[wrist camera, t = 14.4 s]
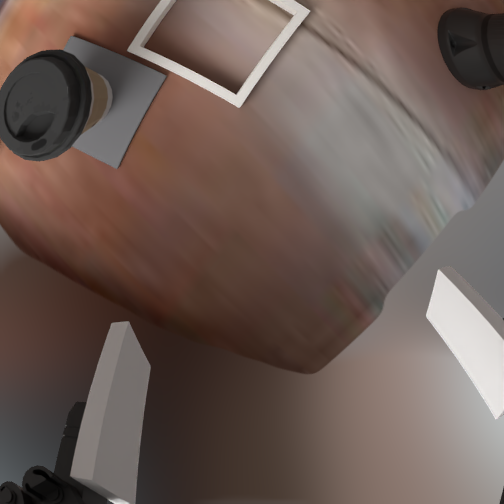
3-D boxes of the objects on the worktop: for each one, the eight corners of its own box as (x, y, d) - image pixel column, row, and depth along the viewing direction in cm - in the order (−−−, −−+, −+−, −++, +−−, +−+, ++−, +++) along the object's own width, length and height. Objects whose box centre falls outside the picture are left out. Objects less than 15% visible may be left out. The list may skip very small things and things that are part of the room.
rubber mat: (167, 76, 33) (166, 75, 32) (118, 168, 38) (117, 169, 37) (72, 36, 27) (71, 35, 27) (32, 125, 32) (30, 125, 32)
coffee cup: (66, 152, 35) (5, 184, 22) (47, 80, 29) (-21, 84, 16) (137, 123, 35) (95, 140, 22) (118, 46, 29) (68, 24, 16)
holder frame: (306, 14, 30) (310, 11, 28) (238, 107, 36) (239, 107, 34) (200, -41, 25) (200, -47, 23) (130, 52, 30) (126, 50, 29)
